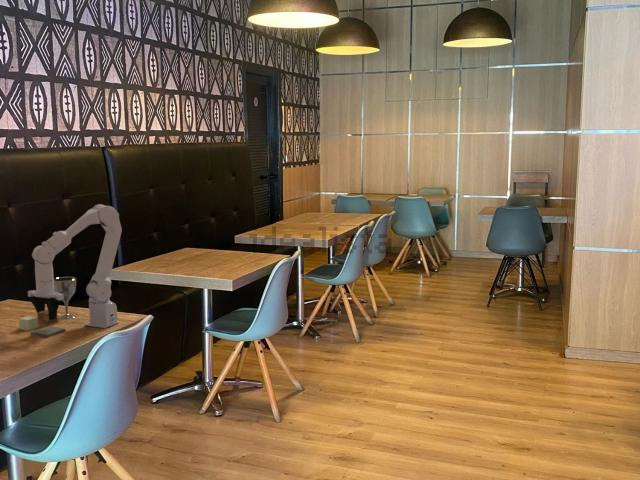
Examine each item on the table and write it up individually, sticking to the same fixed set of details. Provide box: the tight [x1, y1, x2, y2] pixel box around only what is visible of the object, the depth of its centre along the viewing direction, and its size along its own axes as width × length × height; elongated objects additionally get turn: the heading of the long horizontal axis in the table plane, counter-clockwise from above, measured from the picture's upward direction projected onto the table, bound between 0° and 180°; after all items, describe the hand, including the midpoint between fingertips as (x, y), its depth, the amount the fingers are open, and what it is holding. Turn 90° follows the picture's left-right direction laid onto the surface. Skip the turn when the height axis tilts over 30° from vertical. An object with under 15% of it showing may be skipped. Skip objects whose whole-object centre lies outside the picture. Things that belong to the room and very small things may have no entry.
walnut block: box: [36, 309, 59, 326], centre depth 221 cm, size 4×4×4 cm
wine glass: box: [54, 276, 78, 320], centre depth 241 cm, size 8×8×15 cm
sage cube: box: [18, 315, 40, 332], centre depth 227 cm, size 4×4×4 cm
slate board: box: [29, 325, 66, 339], centre depth 221 cm, size 8×8×1 cm
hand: (47, 318), depth 221 cm, fingers closed on walnut block, 4 cm apart
